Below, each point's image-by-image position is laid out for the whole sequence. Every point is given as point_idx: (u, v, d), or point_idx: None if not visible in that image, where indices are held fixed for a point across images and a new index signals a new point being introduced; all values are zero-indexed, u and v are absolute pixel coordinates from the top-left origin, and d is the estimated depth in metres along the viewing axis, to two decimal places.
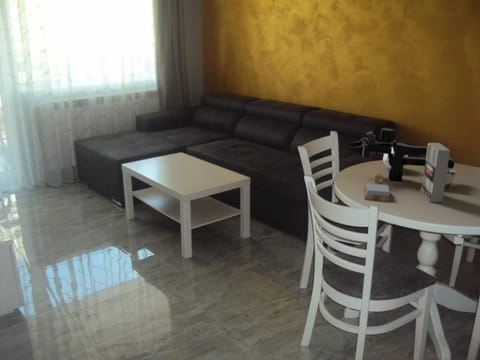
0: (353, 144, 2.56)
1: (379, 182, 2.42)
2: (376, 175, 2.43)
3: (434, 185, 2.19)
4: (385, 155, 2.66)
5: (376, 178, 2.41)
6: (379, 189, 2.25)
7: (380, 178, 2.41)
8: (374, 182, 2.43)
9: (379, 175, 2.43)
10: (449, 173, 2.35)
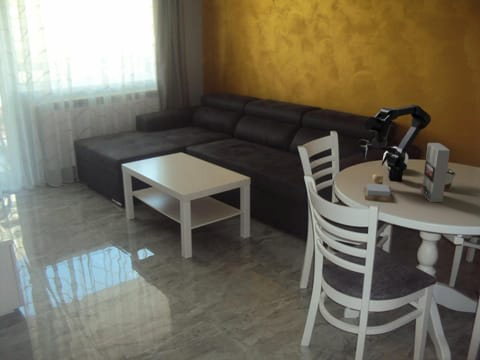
0: (365, 156, 2.43)
1: (379, 182, 2.42)
2: (376, 175, 2.43)
3: (434, 185, 2.19)
4: None
5: (376, 178, 2.41)
6: (379, 189, 2.25)
7: (381, 178, 2.41)
8: (374, 182, 2.43)
9: (379, 175, 2.43)
10: (449, 173, 2.35)
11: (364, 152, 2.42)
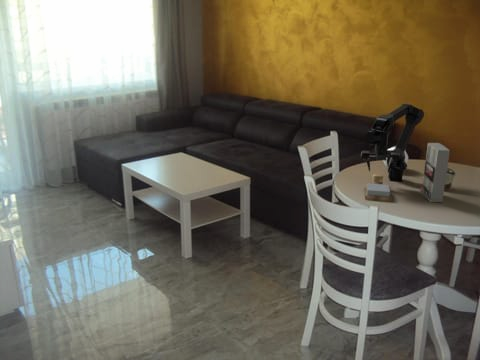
0: (369, 166, 2.42)
1: (379, 182, 2.42)
2: (376, 175, 2.43)
3: (434, 185, 2.19)
4: None
5: (376, 178, 2.41)
6: (379, 189, 2.25)
7: (380, 178, 2.41)
8: (374, 182, 2.43)
9: (379, 175, 2.43)
10: (449, 173, 2.35)
11: (368, 164, 2.41)
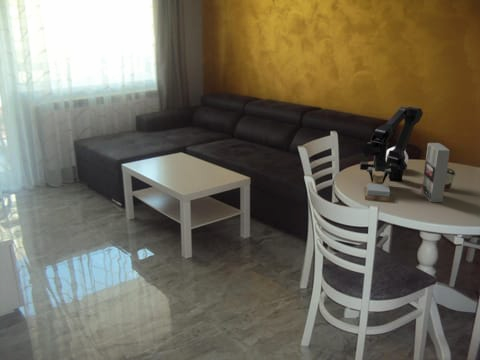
0: (372, 178, 2.44)
1: (379, 182, 2.42)
2: (376, 175, 2.43)
3: (434, 185, 2.19)
4: None
5: (376, 178, 2.41)
6: (379, 189, 2.25)
7: (380, 178, 2.41)
8: (374, 182, 2.43)
9: (379, 175, 2.43)
10: (449, 173, 2.35)
11: (371, 175, 2.42)
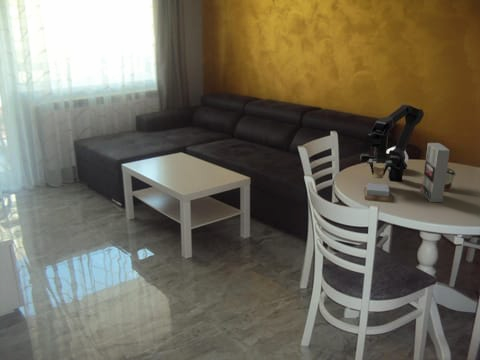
0: None
1: (380, 174, 2.40)
2: (377, 167, 2.42)
3: (434, 185, 2.19)
4: None
5: (377, 170, 2.40)
6: (379, 189, 2.25)
7: (381, 170, 2.40)
8: (375, 174, 2.41)
9: (380, 167, 2.42)
10: (449, 173, 2.35)
11: (372, 167, 2.41)
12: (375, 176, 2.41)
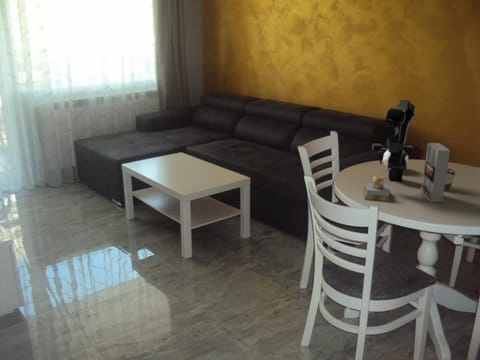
0: (381, 159, 2.36)
1: (380, 185, 2.25)
2: (377, 177, 2.26)
3: (434, 185, 2.19)
4: (385, 155, 2.66)
5: (377, 180, 2.24)
6: (379, 189, 2.25)
7: (382, 181, 2.24)
8: (375, 185, 2.26)
9: (380, 177, 2.26)
10: (449, 173, 2.35)
11: (380, 157, 2.34)
12: (375, 187, 2.26)
